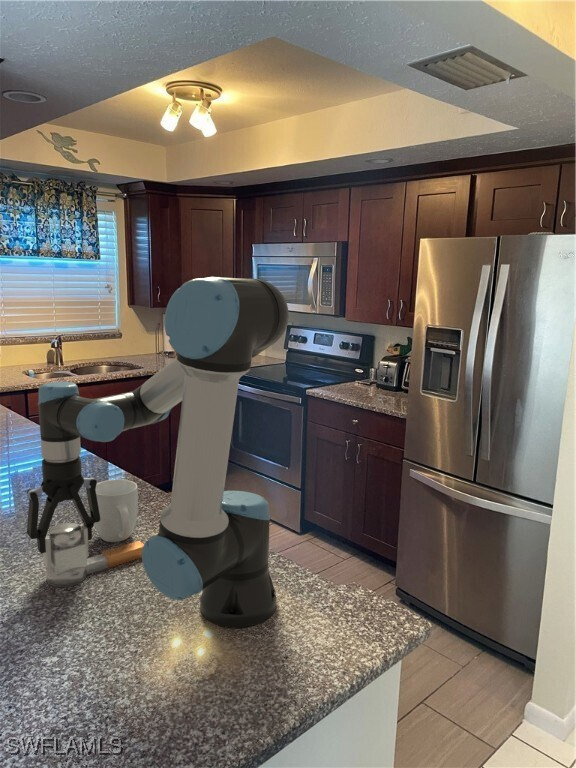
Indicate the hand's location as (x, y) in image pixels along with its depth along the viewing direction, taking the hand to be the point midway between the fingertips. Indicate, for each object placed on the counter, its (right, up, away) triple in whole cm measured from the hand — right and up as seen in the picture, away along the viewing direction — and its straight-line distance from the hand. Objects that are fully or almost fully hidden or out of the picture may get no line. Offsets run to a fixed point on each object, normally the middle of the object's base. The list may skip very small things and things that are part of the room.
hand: (66, 559), depth 119 cm
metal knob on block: (0, -1, 0) cm, 1 cm away
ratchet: (+5, -3, +5) cm, 8 cm away
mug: (+5, -1, +19) cm, 20 cm away
